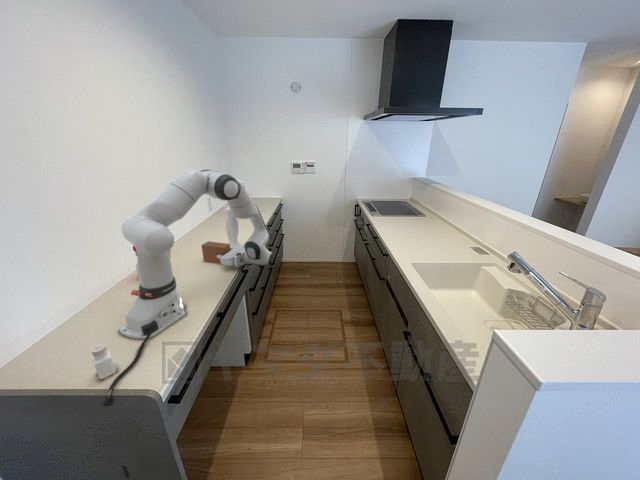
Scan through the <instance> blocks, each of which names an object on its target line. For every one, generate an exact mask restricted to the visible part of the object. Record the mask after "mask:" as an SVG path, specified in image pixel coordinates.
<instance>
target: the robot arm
mask: <svg viewBox="0 0 640 480" xmlns="http://www.w3.org/2000/svg"><path fill="white" fill-rule="evenodd" d="M203 195H207V196H209V197H210V198H214V199H218V200H221V201H226V202H227V206H229V208H230V210H231V212H232V214H233V215H234V216H235V217H236V218H237V219H239V220H247V219H249V220H250V222H251V224H252V226H253V230H252V233H251V234H250V235H249V237H248V238H247V240H246V241H245V243H244V245H243V244H239V245H238V246H236V247H235V248H230V251H229V252H228V253H226V254H225V255H223V256H221V254H218V255H217V258H220V261H221V265H223V266H228V267H229V266H230V267H235V268H239V267H242V266H244V265H254V266H260V267H267V266H270V265H271V264H272V262H273V259H274V252H273V251H270V250H269V249H268V248H267V247H266V246H267V245H268V243H269V242H270V240H271V239H272V233H271V231H270V229H269V228H268V227H267V225H266V223H265V221H264V218H263V216H262V213H261V211H260V209H259V207H258V206H257V205H256V203H254V201H253V198H252V194H251V193H250V190H249V188H248V186H247V183H246V182H245V181H244V180H243V179H241V178H235V177H234V176H232V175H230V174H226V173H224V172H221V171H218V170H212V169H202V170H199V169H198V168H194V167H189V168H187V169H185V170H184V171H182V172H181V173H179V174H178V175H177V176H176V177H174V178H173V179H172V180H171V181H170V182H169V184H168V185H167V186H165V188H164V189H162V191H161V192H160V193H159V194H158V195H157V197H155V199H153V200H152V201H151V202H150V203H148V204H147V205H146V206H144V207H143V208H141V209H140V210H139V211H137V212H136V213H134V215H131V216H129V217H126V218H125V219H124V220H123V221H122V224H121V228H120V230H121V233H122V235H123V237H124V239H125V240H127V242H128V243H130V244H132V246H133V245H134V247H135V248H136V251H137V256H136V258H137V259H136V260H137V261H136V265H135V268H136V269H137V270H136V269H135V270H136V273H137V277H138V281H139V285H138V289H137V290H136V289H132V290H131V291H130V295H131V296H135V297H137V298H136V299H135V300H134V302H133V303H132V305H131V306H130V308H129V310H128V311H127V312H126V313H125V323H124V324H123V325H122V326H120V328H119V333H120V334H121V335H122V336H124V337H127V338H130V339H137V340H140V339H143V341H142V343H140V346H139V348H138V350H137V353H136V356H135V357H134V358H133V360H132V362H131V363H130V364H129V365H128V366H127V367H126V368H125V369H124V370H123V371H122V372H120V373H119V375H117V376H116V378H114V380H113V382H112V383H111V385H110V386H109V388H108V390H111V389H112V391H113V389H114V388H115V386H116V385H117V383H118V381H119V380H121V378H122V377H123V376H124V375H125V374H126V373H127V372H128V371H129V370H131V368H133V366H134V365H135V364H136V363H137V361H138V360H139V358H140V356H141V354H142V351H143V348H144V346H145V344H146V343H147V342H148V341H149V339H150V338H153V337H154V336H156V335H157V334H159V333H160V332H162V331H163V330H165V329H167V328H168V327H170V326H171V325H173V324H174V323H176V322H177V321H179V320H181V318H183V317H185V316H186V311H185V310H184V309H185V306H184V304H183V302H182V297H180V295H179V293H178V290H177V281H176V277H175V276H174V272H173V267H172V262H171V254H172V253H171V252H172V249H173V247H174V244H175V237H174V236H175V235H174V234H173V232H172V231H171V230H170V229H169V228H168V227H170V226H171V225H172V224H174V223H176V222H178V221H180V220H183V218H184V217H185V216H186V215H187V214H188V213H189V212H190V210H191V209H192V208H193V207H194V206H195V204H196V203H197V202H198V200H199V199H200V198H201V197H202V196H203ZM111 399H112V395H111V396H110V398H107V397H106V400H105V406H109V405H110V404H111ZM120 466H121V468H122V470H123V473H124V476H125V478H126V479H129V478H130V473H129V470H128V467H127V466H126V465H123V464H120Z"/></svg>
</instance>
